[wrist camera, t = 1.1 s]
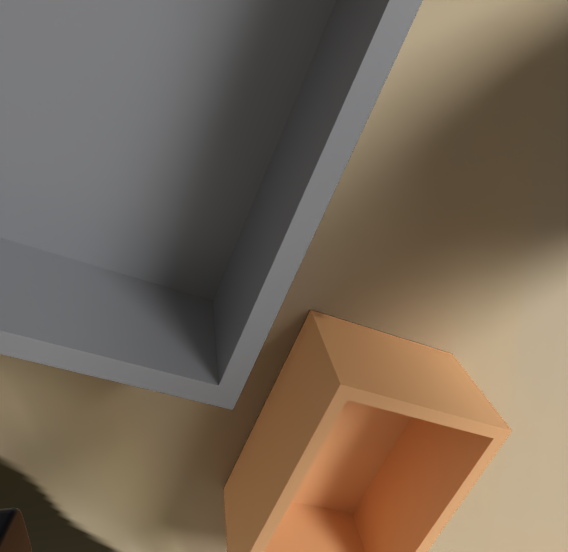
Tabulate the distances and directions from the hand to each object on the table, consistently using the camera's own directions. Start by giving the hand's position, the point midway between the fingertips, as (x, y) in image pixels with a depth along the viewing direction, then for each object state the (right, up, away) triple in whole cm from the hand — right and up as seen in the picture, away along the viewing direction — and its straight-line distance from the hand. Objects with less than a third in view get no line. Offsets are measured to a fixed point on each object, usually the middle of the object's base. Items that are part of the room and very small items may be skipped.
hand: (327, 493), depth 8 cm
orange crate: (+2, -3, +16) cm, 17 cm away
